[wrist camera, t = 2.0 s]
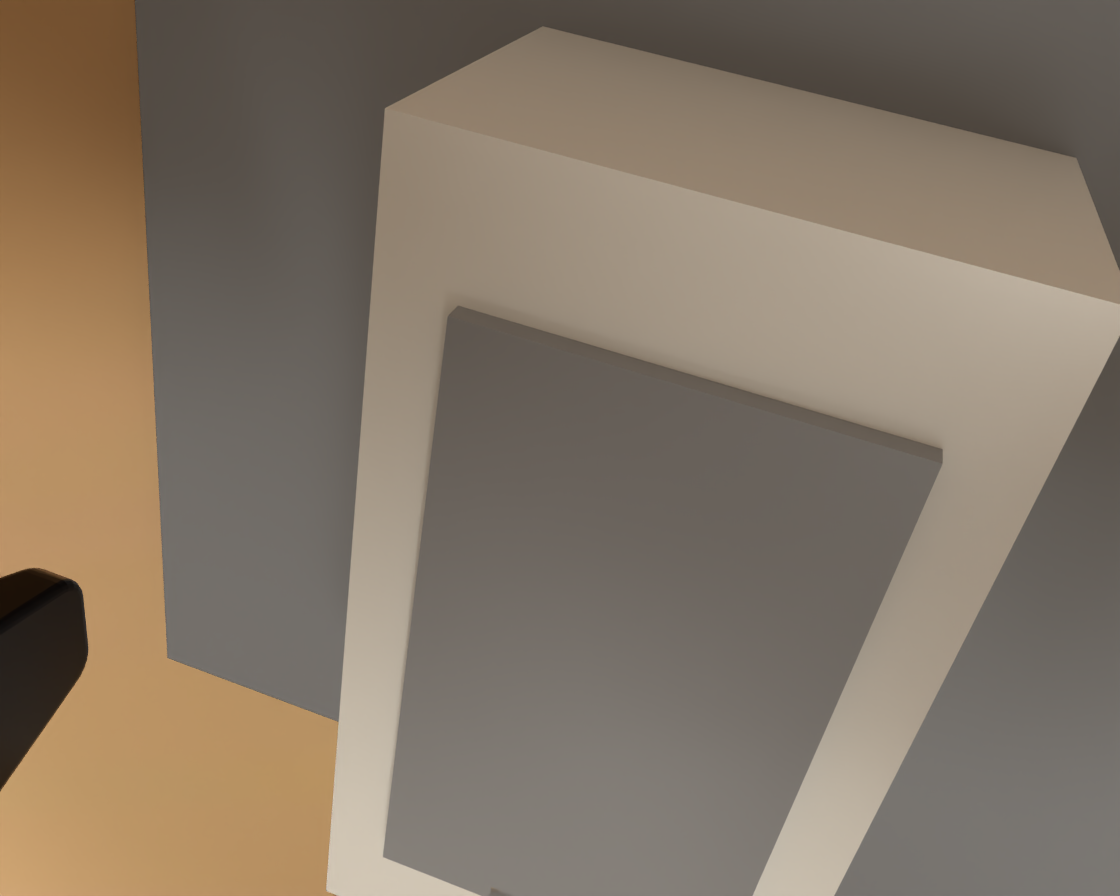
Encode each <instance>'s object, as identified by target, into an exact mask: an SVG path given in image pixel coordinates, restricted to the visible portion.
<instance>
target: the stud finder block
mask: <svg viewBox="0 0 1120 896" xmlns="http://www.w3.org/2000/svg"><path fill="white" fill-rule="evenodd" d="M1119 336H1120V271H1119V268H1118V266H1117V263H1116V260H1115V258H1114V255H1113V253H1112V250H1111V247H1110V245H1109V242H1108V239H1107V237H1106V234H1105V232H1104V229H1103V226H1102V224H1101V221H1100V219H1099V216H1098V213H1097V211H1096V208H1095V206H1094V203H1093V200H1092V198H1091V195H1090V192H1089V190H1088V187H1087V185H1086V182H1085V179H1084V177H1083V174H1082V172H1081V169H1080V166H1079V164H1078V161H1077V158H1075V157H1071V156H1066V155H1062V154H1058V153H1054V152H1050V151H1046V150H1042V149H1038V148H1034V147H1030V146H1026V145H1022V144H1018V143H1014V142H1010V141H1006V140H1002V139H998V138H994V137H989V136H985V135H981V134H977V133H973V132H969V131H965V130H961V129H957V128H953V127H949V126H945V125H941V124H937V123H933V122H929V121H925V120H921V119H917V118H912V117H908V116H904V115H900V114H896V113H892V112H888V111H884V110H880V109H876V108H872V107H868V106H864V105H860V104H856V103H852V102H848V101H844V100H839V99H835V98H831V97H827V96H823V95H819V94H815V93H811V92H807V91H803V90H799V89H795V88H791V87H787V86H783V85H779V84H775V83H771V82H767V81H762V80H758V79H754V78H750V77H746V76H742V75H738V74H734V73H730V72H726V71H722V70H718V69H714V68H710V67H706V66H702V65H698V64H694V63H690V62H685V61H681V60H677V59H673V58H669V57H665V56H661V55H657V54H653V53H649V52H645V51H641V50H637V49H633V48H629V47H625V46H621V45H617V44H613V43H608V42H604V41H600V40H596V39H592V38H588V37H584V36H580V35H576V34H572V33H568V32H564V31H560V30H556V29H552V28H548V27H544V26H542V27H540V28H539V29H537V30H535V31H533V32H531V33H529V34H527V35H525V36H523V37H521V38H519V39H517V40H515V41H513V42H512V43H510V44H508V45H506V46H504V47H502V48H500V49H498V50H496V51H494V52H492V53H490V54H488V55H486V56H485V57H483V58H481V59H479V60H477V61H475V62H473V63H471V64H469V65H467V66H465V67H463V68H461V69H460V70H458V71H456V72H454V73H452V74H450V75H448V76H446V77H444V78H442V79H440V80H438V81H436V82H434V83H433V84H431V85H429V86H427V87H425V88H423V89H421V90H419V91H417V92H415V93H413V94H411V95H409V96H407V97H406V98H404V99H402V100H400V101H398V102H396V103H394V104H392V105H390V106H388V107H386V108H385V114H384V127H383V140H382V154H381V167H380V180H379V194H378V207H377V220H376V233H375V247H374V260H373V273H372V287H371V300H370V313H369V326H368V340H367V353H366V366H365V380H364V393H363V406H362V420H361V433H360V446H359V459H358V473H357V486H356V499H355V513H354V526H353V539H352V552H351V566H350V579H349V592H348V606H347V619H346V632H345V645H344V659H343V672H342V685H341V699H340V712H339V725H338V738H337V752H336V765H335V778H334V792H333V805H332V818H331V831H330V845H329V858H328V871H327V885H326V891H328V892H330V893H332V894H335V895H337V896H834V895H835V893H836V891H837V889H838V887H839V885H840V883H841V881H842V879H843V878H844V876H845V874H846V872H847V870H848V868H849V866H850V864H851V862H852V860H853V858H854V856H855V854H856V852H857V850H858V848H859V846H860V844H861V842H862V840H863V838H864V836H865V834H866V832H867V830H868V828H869V827H870V825H871V823H872V821H873V819H874V817H875V815H876V813H877V811H878V809H879V807H880V805H881V803H882V801H883V799H884V797H885V795H886V793H887V791H888V789H889V787H890V785H891V783H892V781H893V779H894V778H895V776H896V774H897V772H898V770H899V768H900V766H901V764H902V762H903V760H904V758H905V756H906V754H907V752H908V750H909V748H910V746H911V744H912V742H913V740H914V738H915V736H916V734H917V732H918V730H919V728H920V727H921V725H922V723H923V721H924V719H925V717H926V715H927V713H928V711H929V709H930V707H931V705H932V703H933V701H934V699H935V697H936V695H937V693H938V691H939V689H940V687H941V685H942V683H943V681H944V679H945V677H946V676H947V674H948V672H949V670H950V668H951V666H952V664H953V662H954V660H955V658H956V656H957V654H958V652H959V650H960V648H961V646H962V644H963V642H964V640H965V638H966V636H967V634H968V632H969V630H970V628H971V626H972V625H973V623H974V621H975V619H976V617H977V615H978V613H979V611H980V609H981V607H982V605H983V603H984V601H985V599H986V597H987V595H988V593H989V591H990V589H991V587H992V585H993V583H994V581H995V579H996V577H997V575H998V574H999V572H1000V570H1001V568H1002V566H1003V564H1004V562H1005V560H1006V558H1007V556H1008V554H1009V552H1010V550H1011V548H1012V546H1013V544H1014V542H1015V540H1016V538H1017V536H1018V534H1019V532H1020V530H1021V528H1022V526H1023V524H1024V523H1025V521H1026V519H1027V517H1028V515H1029V513H1030V511H1031V509H1032V507H1033V505H1034V503H1035V501H1036V499H1037V497H1038V495H1039V493H1040V491H1041V489H1042V487H1043V485H1044V483H1045V481H1046V479H1047V477H1048V475H1049V473H1050V472H1051V470H1052V468H1053V466H1054V464H1055V462H1056V460H1057V458H1058V456H1059V454H1060V452H1061V450H1062V448H1063V446H1064V444H1065V442H1066V440H1067V438H1068V436H1069V434H1070V432H1071V430H1072V428H1073V426H1074V424H1075V423H1076V421H1077V419H1078V417H1079V415H1080V413H1081V411H1082V409H1083V407H1084V405H1085V403H1086V401H1087V399H1088V397H1089V395H1090V393H1091V391H1092V389H1093V387H1094V385H1095V383H1096V381H1097V379H1098V377H1099V375H1100V373H1101V372H1102V370H1103V368H1104V366H1105V364H1106V362H1107V360H1108V358H1109V356H1110V354H1111V352H1112V350H1113V348H1114V346H1115V344H1116V342H1117V340H1118V338H1119Z"/></svg>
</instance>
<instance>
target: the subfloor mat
mask: <svg viewBox="0 0 1120 896" xmlns="http://www.w3.org/2000/svg"><path fill="white" fill-rule="evenodd" d="M135 14H136V34H137V54H138V74H139V95H140V115H141V135H142V155H143V175H144V195H145V215H146V235H147V255H148V275H149V295H150V316H151V336H152V356H153V376H154V396H155V416H156V436H157V456H158V476H159V496H160V516H161V536H162V557H163V577H164V597H165V617H166V637H167V657H168V658H169V659H172V660H174V661H177V662H180V663H182V664H185V665H188V666H190V667H193V668H196V669H199V670H201V671H204V672H207V673H209V674H212V675H215V676H217V677H220V678H223V679H225V680H228V681H231V682H233V683H236V684H239V685H241V686H244V687H247V688H249V689H252V690H255V691H257V692H260V693H263V694H266V695H268V696H271V697H274V698H276V699H279V700H282V701H284V702H287V703H290V704H292V705H295V706H298V707H300V708H303V709H306V710H308V711H311V712H314V713H316V714H319V715H322V716H324V717H327V718H330V719H332V720H335V721H338V722H339V712H340V699H341V685H342V672H343V659H344V645H345V632H346V619H347V606H348V592H349V579H350V566H351V552H352V539H353V526H354V513H355V499H356V486H357V473H358V459H359V446H360V433H361V420H362V406H363V393H364V380H365V366H366V353H367V340H368V326H369V313H370V300H371V287H372V273H373V260H374V247H375V233H376V220H377V207H378V194H379V180H380V167H381V154H382V140H383V127H384V114H385V108H386V107H388V106H390V105H392V104H394V103H396V102H398V101H400V100H402V99H404V98H406V97H407V96H409V95H411V94H413V93H415V92H417V91H419V90H421V89H423V88H425V87H427V86H429V85H431V84H433V83H434V82H436V81H438V80H440V79H442V78H444V77H446V76H448V75H450V74H452V73H454V72H456V71H458V70H460V69H461V68H463V67H465V66H467V65H469V64H471V63H473V62H475V61H477V60H479V59H481V58H483V57H485V56H486V55H488V54H490V53H492V52H494V51H496V50H498V49H500V48H502V47H504V46H506V45H508V44H510V43H512V42H513V41H515V40H517V39H519V38H521V37H523V36H525V35H527V34H529V33H531V32H533V31H535V30H537V29H539V28H540V27H542V26H544V27H548V28H552V29H556V30H560V31H564V32H568V33H572V34H576V35H580V36H584V37H588V38H592V39H596V40H600V41H604V42H608V43H613V44H617V45H621V46H625V47H629V48H633V49H637V50H641V51H645V52H649V53H653V54H657V55H661V56H665V57H669V58H673V59H677V60H681V61H685V62H690V63H694V64H698V65H702V66H706V67H710V68H714V69H718V70H722V71H726V72H730V73H734V74H738V75H742V76H746V77H750V78H754V79H758V80H762V81H767V82H771V83H775V84H779V85H783V86H787V87H791V88H795V89H799V90H803V91H807V92H811V93H815V94H819V95H823V96H827V97H831V98H835V99H839V100H844V101H848V102H852V103H856V104H860V105H864V106H868V107H872V108H876V109H880V110H884V111H888V112H892V113H896V114H900V115H904V116H908V117H912V118H917V119H921V120H925V121H929V122H933V123H937V124H941V125H945V126H949V127H953V128H957V129H961V130H965V131H969V132H973V133H977V134H981V135H985V136H989V137H994V138H998V139H1002V140H1006V141H1010V142H1014V143H1018V144H1022V145H1026V146H1030V147H1034V148H1038V149H1042V150H1046V151H1050V152H1054V153H1058V154H1062V155H1066V156H1071V157H1075V158H1077V161H1078V164H1079V166H1080V169H1081V172H1082V174H1083V177H1084V179H1085V182H1086V185H1087V187H1088V190H1089V192H1090V195H1091V198H1092V200H1093V203H1094V206H1095V208H1096V211H1097V213H1098V216H1099V219H1100V221H1101V224H1102V226H1103V229H1104V232H1105V234H1106V237H1107V239H1108V242H1109V245H1110V247H1111V250H1112V253H1113V255H1114V258H1115V260H1116V263H1117V266H1118V268H1119V271H1120V0H135ZM834 896H1120V336H1119V338H1118V340H1117V342H1116V344H1115V346H1114V348H1113V350H1112V352H1111V354H1110V356H1109V358H1108V360H1107V362H1106V364H1105V366H1104V368H1103V370H1102V372H1101V373H1100V375H1099V377H1098V379H1097V381H1096V383H1095V385H1094V387H1093V389H1092V391H1091V393H1090V395H1089V397H1088V399H1087V401H1086V403H1085V405H1084V407H1083V409H1082V411H1081V413H1080V415H1079V417H1078V419H1077V421H1076V423H1075V424H1074V426H1073V428H1072V430H1071V432H1070V434H1069V436H1068V438H1067V440H1066V442H1065V444H1064V446H1063V448H1062V450H1061V452H1060V454H1059V456H1058V458H1057V460H1056V462H1055V464H1054V466H1053V468H1052V470H1051V472H1050V473H1049V475H1048V477H1047V479H1046V481H1045V483H1044V485H1043V487H1042V489H1041V491H1040V493H1039V495H1038V497H1037V499H1036V501H1035V503H1034V505H1033V507H1032V509H1031V511H1030V513H1029V515H1028V517H1027V519H1026V521H1025V523H1024V524H1023V526H1022V528H1021V530H1020V532H1019V534H1018V536H1017V538H1016V540H1015V542H1014V544H1013V546H1012V548H1011V550H1010V552H1009V554H1008V556H1007V558H1006V560H1005V562H1004V564H1003V566H1002V568H1001V570H1000V572H999V574H998V575H997V577H996V579H995V581H994V583H993V585H992V587H991V589H990V591H989V593H988V595H987V597H986V599H985V601H984V603H983V605H982V607H981V609H980V611H979V613H978V615H977V617H976V619H975V621H974V623H973V625H972V626H971V628H970V630H969V632H968V634H967V636H966V638H965V640H964V642H963V644H962V646H961V648H960V650H959V652H958V654H957V656H956V658H955V660H954V662H953V664H952V666H951V668H950V670H949V672H948V674H947V676H946V677H945V679H944V681H943V683H942V685H941V687H940V689H939V691H938V693H937V695H936V697H935V699H934V701H933V703H932V705H931V707H930V709H929V711H928V713H927V715H926V717H925V719H924V721H923V723H922V725H921V727H920V728H919V730H918V732H917V734H916V736H915V738H914V740H913V742H912V744H911V746H910V748H909V750H908V752H907V754H906V756H905V758H904V760H903V762H902V764H901V766H900V768H899V770H898V772H897V774H896V776H895V778H894V779H893V781H892V783H891V785H890V787H889V789H888V791H887V793H886V795H885V797H884V799H883V801H882V803H881V805H880V807H879V809H878V811H877V813H876V815H875V817H874V819H873V821H872V823H871V825H870V827H869V828H868V830H867V832H866V834H865V836H864V838H863V840H862V842H861V844H860V846H859V848H858V850H857V852H856V854H855V856H854V858H853V860H852V862H851V864H850V866H849V868H848V870H847V872H846V874H845V876H844V878H843V879H842V881H841V883H840V885H839V887H838V889H837V891H836V893H835V895H834Z"/></svg>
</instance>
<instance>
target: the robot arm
mask: <svg viewBox="0 0 1120 896" xmlns="http://www.w3.org/2000/svg"><path fill="white" fill-rule="evenodd" d="M87 656H88V639H87V630H86V620H85V610H84V601H83V593H82V590H81V588H80V587H79V585H78V584H77V583H76V582H75V581H73V580H71V579H69V578H66V577H63V576H60V575H58V574H55V573H52V572H49V571H47V570H44V569H40V568H30V569H25V570H21V571H18V572H15V573H13V574H10V575H7V576H4V577H1V578H0V791H1V789H2V788H3V787H4V785H5V784H6V782H7V781H8V779H9V778H10V777H11V775H12V774H13V772H14V771H15V769H16V768H17V767H18V765H19V764H20V762H21V761H22V759H23V758H24V756H25V755H26V754H27V752H28V751H29V749H30V748H31V746H32V745H33V744H34V742H35V741H36V739H37V738H38V736H39V735H40V734H41V732H42V731H43V729H44V728H45V726H46V725H47V723H48V722H49V721H50V719H51V718H52V716H53V715H54V713H55V712H56V711H57V709H58V708H59V706H60V705H61V703H62V702H63V701H64V699H65V698H66V696H67V695H68V693H69V692H70V690H71V689H72V688H73V686H74V685H75V683H76V682H77V680H78V679H79V677H80V675H81V673H82V671H83V669H84V667H85V664H86V661H87Z"/></svg>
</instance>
